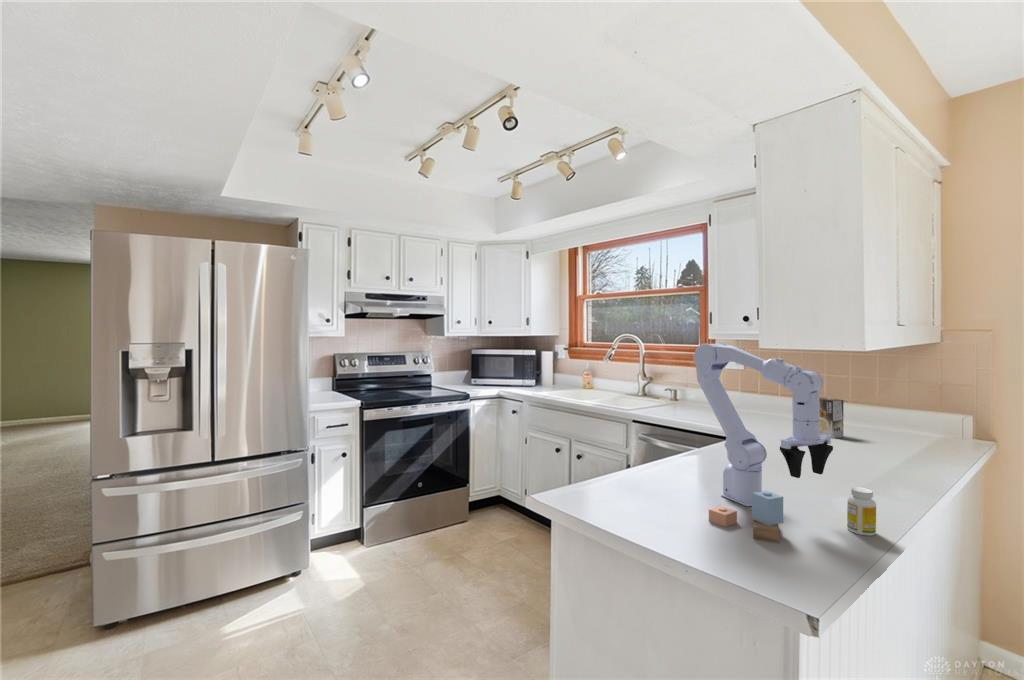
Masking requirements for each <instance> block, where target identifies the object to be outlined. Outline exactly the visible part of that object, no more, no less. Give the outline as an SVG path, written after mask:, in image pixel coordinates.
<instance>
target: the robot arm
mask: <svg viewBox="0 0 1024 680" xmlns="http://www.w3.org/2000/svg"><path fill="white" fill-rule="evenodd" d="M692 356H693V357H692V360H693V362H694V364H695V370H696V379H697V382H698V384H699V386H700V388H701V390H702V392H703V394H704V396H705V397H706V399H707V402H708V404H709V405H710V408H711V409H712V412H713V413H714V416H715V417H716V419H717V422H718V423H719V426H720V427H721V429H722V431H723V433H724V434H725V436H726V438H725V441H724V447H725V449H726V453H727V459H728V462H729V464H727V465H726V466H725V467H724V470H723V473H722V474H723V475H722V479H723V480H722V490H723V491H722V493H720V496H721V497H724V498H726V499H728V500H731V501H732V502H736V503H737V504H741V505H742V506H745V507H752V493H755V492H761V491H763V487H762V486H763V463H764V462H765V461H766V459H767V455H768V454H767V452H768V451H767V449H766V447H765V446H764V445H763V444H762V443H761V442H760V441H759V440H758V439H757V438H756V436H755V434H753V433H752V432H750V431H749V430H748V429H747V428H746V427H745V424H744V423H743V420H742V419H741V416H740V415H739V413H738V411H737V409H736V408H735V406H734V404H733V403H732V401H731V399H730V397H729V395H728V393H727V391H726V389H725V387H724V385H723V384H722V382H721V379H720V377H721V374H722V372H723V370H724V369H725V368H726V367H727V366H728V364H729V363H731V362H733V363H735V364H738V365H741V366H743V367H747V368H749V369H752V370H755V371H758V372H760V374H761V376H762V377H763V378H764V379H766V380H767V381H770V382H772V383H775V384H777V385H779V386H782V387H784V388H787V389H788V390H789V391H790V392H791V394H792V404H791V405H792V406H791V407H792V436H789V437H786V438H784V439H780V446H779V451H780V453H781V454H782V456H783V458H784V460H785V462H786V465H787V467H788V471H789V474H790V477H793V478H796V479H800V478H801V475H802V466H803V465H802V464H803V460H804V456H805V454H806V451H805V450H801V449H800V447H801V448H802V447H807V449H808V451H809V453H810V454H809V455H810V460H811V461H810V462H811V469H812V470H811V471H812V473H814V474H817V475H823V473H824V471H825V466H826V463H827V461H828V458H829V457H830V454H831V453H832V452H833V450H834V446H833V445H831V443H832V440H831V439H832V438H831V436H828V435H820V407H819V398H820V391H821V390H822V389H823V387H824V380H823V377H822V376H821V375H820V373H818V372H816V371H815V370H814V369H805V370H803V367H802V366H800V365H796V366H795V365H793V364H790V363H789V362H788V363H787V362H784V360H785V359H783V358H780V357H777V358H774V357H773V358H769V359H767V360H766V359H765V358H764V359H763V358H761V357H758V356H757V355H755V354H752V353H750V352H748V351H745V350H744V349H741V348H739V347H736V346H734V345H732V344H726V343H724V342H719V343H702V344H699V345H698V346H697V347H696V349H695V351H694V354H693V355H692Z"/></svg>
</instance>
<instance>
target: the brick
mask: <svg viewBox="0 0 1024 680" xmlns="http://www.w3.org/2000/svg"><path fill="white" fill-rule="evenodd" d="M708 521H709V522H710V523H711V522H712V523H714V524H717V525H720V526H723V527H725V528H726V527H730V526H731V525H736V524H737V523H738V511H737V510H735V509H731V508H729V507H726V506H723V505H718V506H714V507H710V508H709V509H708Z"/></svg>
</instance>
